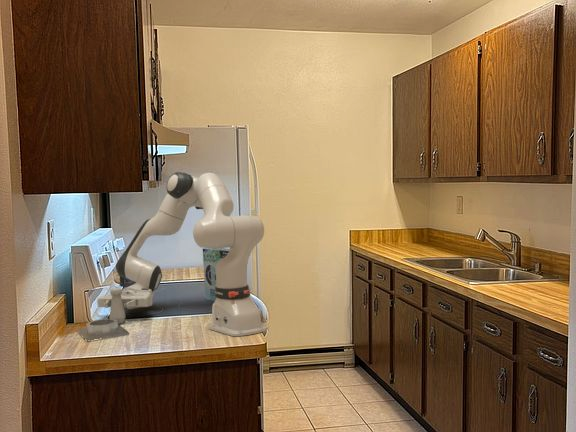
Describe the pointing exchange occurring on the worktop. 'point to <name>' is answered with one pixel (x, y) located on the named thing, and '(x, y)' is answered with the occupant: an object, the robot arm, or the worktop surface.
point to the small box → (126, 282)
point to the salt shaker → (117, 306)
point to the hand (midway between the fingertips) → (115, 305)
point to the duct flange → (102, 329)
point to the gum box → (211, 269)
